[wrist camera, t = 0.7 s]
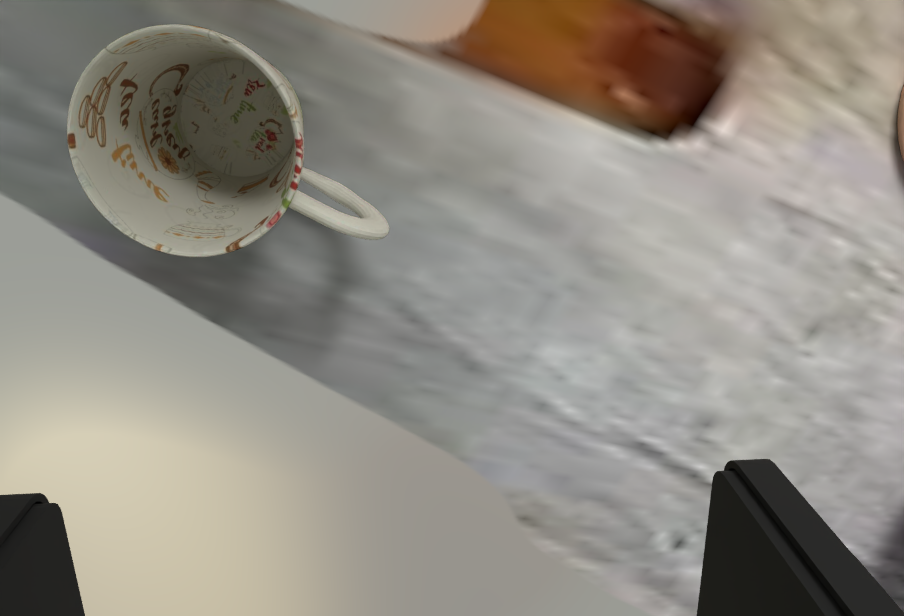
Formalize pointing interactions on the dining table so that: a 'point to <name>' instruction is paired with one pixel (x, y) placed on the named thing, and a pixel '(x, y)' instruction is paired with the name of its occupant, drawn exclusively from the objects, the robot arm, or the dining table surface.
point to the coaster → (901, 124)
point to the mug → (197, 144)
